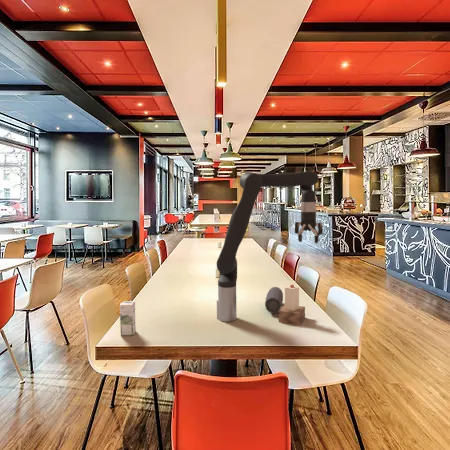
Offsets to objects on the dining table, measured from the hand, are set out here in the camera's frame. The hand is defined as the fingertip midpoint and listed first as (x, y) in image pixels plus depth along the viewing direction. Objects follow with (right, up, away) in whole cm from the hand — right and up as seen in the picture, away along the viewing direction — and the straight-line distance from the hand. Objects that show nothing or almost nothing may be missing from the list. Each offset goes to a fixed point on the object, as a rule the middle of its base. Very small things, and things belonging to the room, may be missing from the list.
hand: (308, 242), depth 178 cm
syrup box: (-87, -41, -20) cm, 98 cm away
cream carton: (-9, -33, -5) cm, 35 cm away
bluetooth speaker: (-16, -38, +13) cm, 43 cm away
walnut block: (-9, -39, -5) cm, 40 cm away
